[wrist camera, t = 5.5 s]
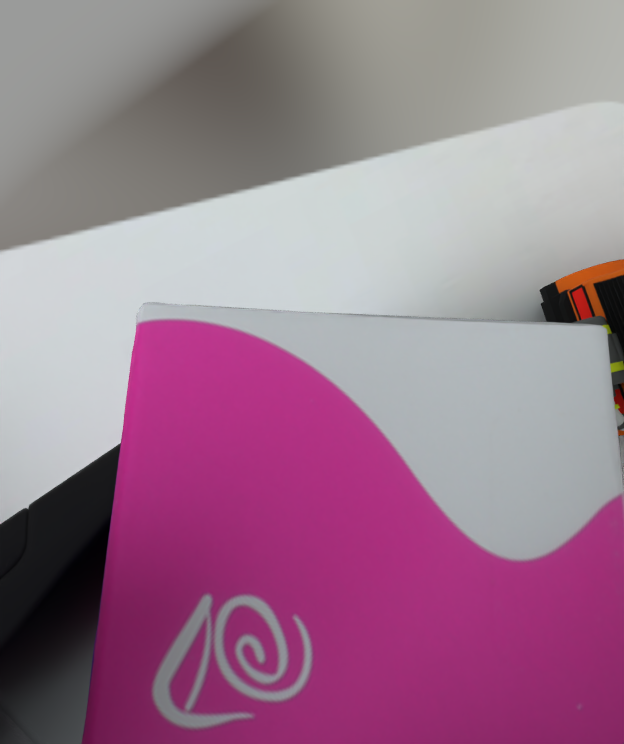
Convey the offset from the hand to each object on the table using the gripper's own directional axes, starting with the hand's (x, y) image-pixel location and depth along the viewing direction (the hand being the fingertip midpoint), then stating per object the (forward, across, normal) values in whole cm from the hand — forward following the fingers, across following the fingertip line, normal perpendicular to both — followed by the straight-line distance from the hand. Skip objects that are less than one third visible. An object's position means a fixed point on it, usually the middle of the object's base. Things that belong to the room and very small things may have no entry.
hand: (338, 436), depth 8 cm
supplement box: (+4, 0, +6) cm, 7 cm away
